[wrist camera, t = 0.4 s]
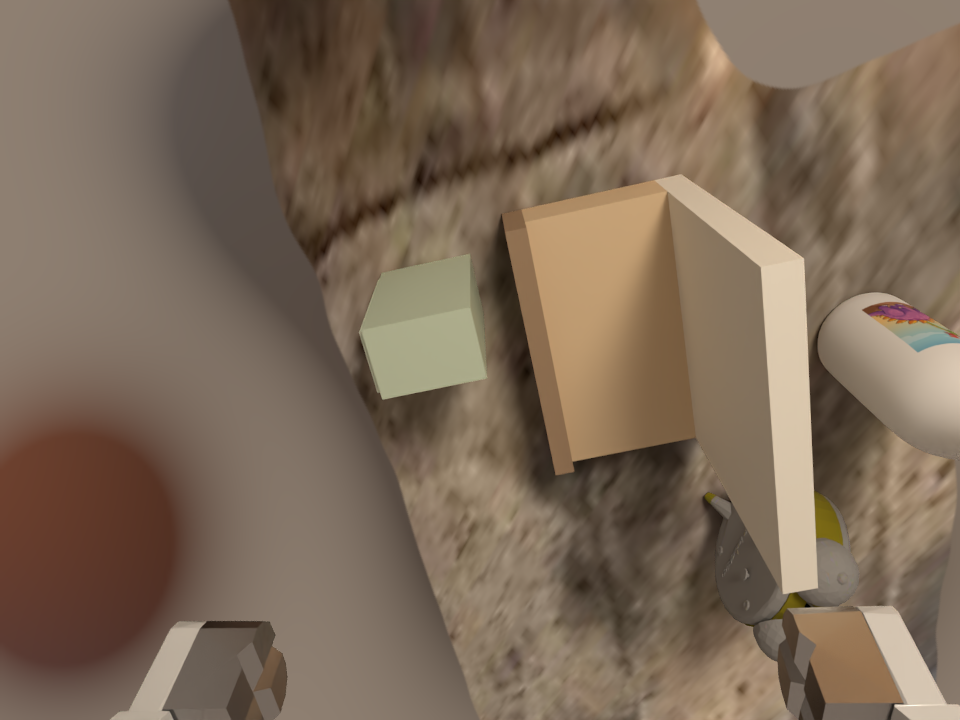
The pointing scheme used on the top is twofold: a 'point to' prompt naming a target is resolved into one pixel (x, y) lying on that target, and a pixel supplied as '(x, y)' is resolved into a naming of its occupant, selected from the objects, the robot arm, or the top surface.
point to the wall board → (675, 347)
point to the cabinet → (425, 328)
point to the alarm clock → (756, 590)
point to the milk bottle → (897, 368)
